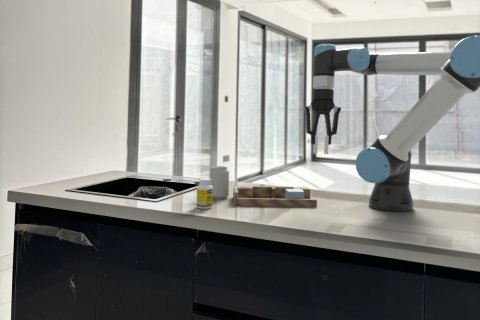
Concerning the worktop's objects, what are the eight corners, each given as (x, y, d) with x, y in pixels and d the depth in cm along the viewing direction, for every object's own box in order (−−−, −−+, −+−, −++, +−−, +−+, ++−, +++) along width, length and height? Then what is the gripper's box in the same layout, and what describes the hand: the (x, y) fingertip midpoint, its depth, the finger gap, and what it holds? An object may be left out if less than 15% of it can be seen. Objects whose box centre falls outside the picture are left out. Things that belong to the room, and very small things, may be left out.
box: (307, 198, 165) (307, 187, 165) (316, 206, 149) (317, 194, 149) (233, 197, 164) (233, 185, 163) (234, 205, 148) (234, 193, 147)
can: (226, 199, 158) (226, 168, 157) (206, 198, 160) (207, 167, 159) (230, 196, 166) (231, 166, 165) (212, 195, 167) (212, 165, 166)
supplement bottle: (208, 209, 140) (208, 180, 139) (193, 208, 142) (194, 179, 141) (214, 206, 145) (215, 178, 144) (200, 205, 147) (201, 177, 146)
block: (300, 202, 158) (301, 189, 158) (304, 205, 152) (304, 191, 152) (284, 201, 158) (285, 188, 157) (287, 205, 152) (288, 191, 151)
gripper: (342, 90, 155) (339, 153, 158) (298, 88, 155) (296, 152, 157) (348, 88, 148) (345, 154, 150) (302, 87, 147) (300, 154, 149)
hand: (320, 153), depth 154 cm, fingers open, 3 cm apart
